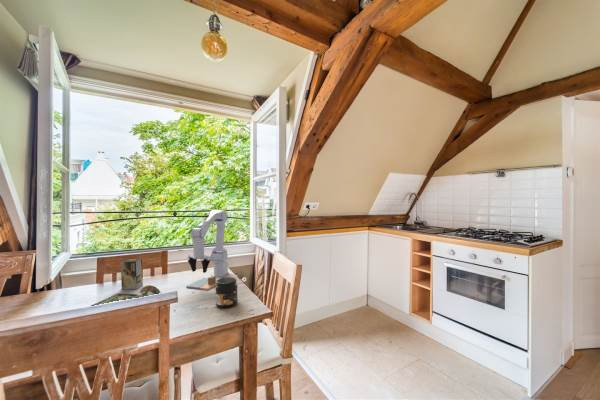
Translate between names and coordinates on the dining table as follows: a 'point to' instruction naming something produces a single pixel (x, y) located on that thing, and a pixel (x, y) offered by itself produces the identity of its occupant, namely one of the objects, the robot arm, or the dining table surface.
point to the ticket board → (198, 283)
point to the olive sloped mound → (131, 295)
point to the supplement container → (226, 292)
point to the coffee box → (131, 274)
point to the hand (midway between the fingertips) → (199, 271)
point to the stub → (210, 283)
